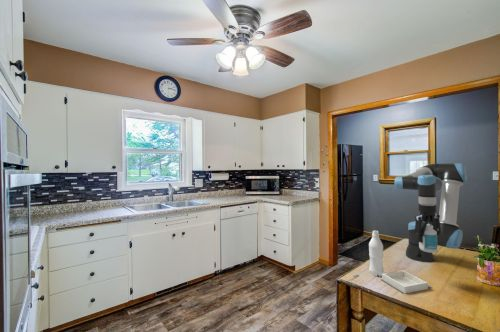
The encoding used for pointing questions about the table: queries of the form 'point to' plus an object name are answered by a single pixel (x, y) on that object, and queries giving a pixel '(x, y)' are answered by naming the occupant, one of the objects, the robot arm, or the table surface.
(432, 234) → the pill bottle
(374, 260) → the water bottle
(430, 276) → the table surface
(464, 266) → the table surface
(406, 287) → the tray
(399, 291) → the mat
